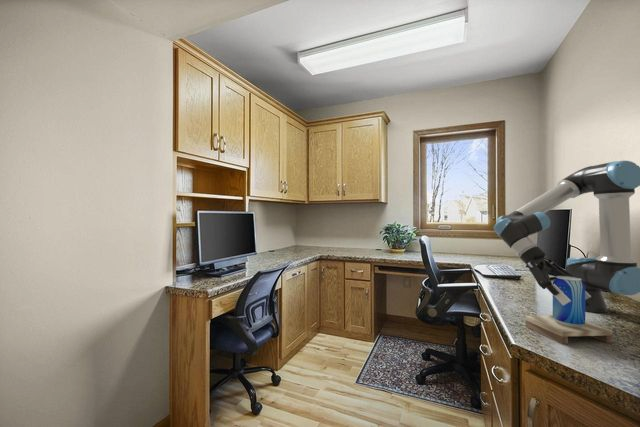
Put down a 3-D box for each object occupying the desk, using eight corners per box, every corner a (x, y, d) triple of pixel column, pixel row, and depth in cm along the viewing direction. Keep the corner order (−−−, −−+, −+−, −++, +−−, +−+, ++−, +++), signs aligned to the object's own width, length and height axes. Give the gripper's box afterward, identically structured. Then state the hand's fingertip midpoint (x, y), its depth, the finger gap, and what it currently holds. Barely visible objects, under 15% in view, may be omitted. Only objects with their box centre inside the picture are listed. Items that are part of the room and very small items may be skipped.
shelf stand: (569, 325, 103) (569, 315, 103) (612, 342, 89) (612, 330, 89) (525, 326, 101) (525, 316, 101) (562, 344, 87) (562, 331, 87)
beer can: (592, 329, 89) (592, 281, 90) (562, 327, 91) (562, 279, 91) (573, 320, 98) (573, 276, 98) (547, 318, 99) (547, 274, 100)
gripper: (538, 256, 114) (585, 302, 100) (501, 259, 103) (548, 311, 89) (553, 244, 109) (605, 291, 95) (516, 246, 98) (568, 299, 85)
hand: (577, 301), depth 92 cm, fingers open, 13 cm apart
